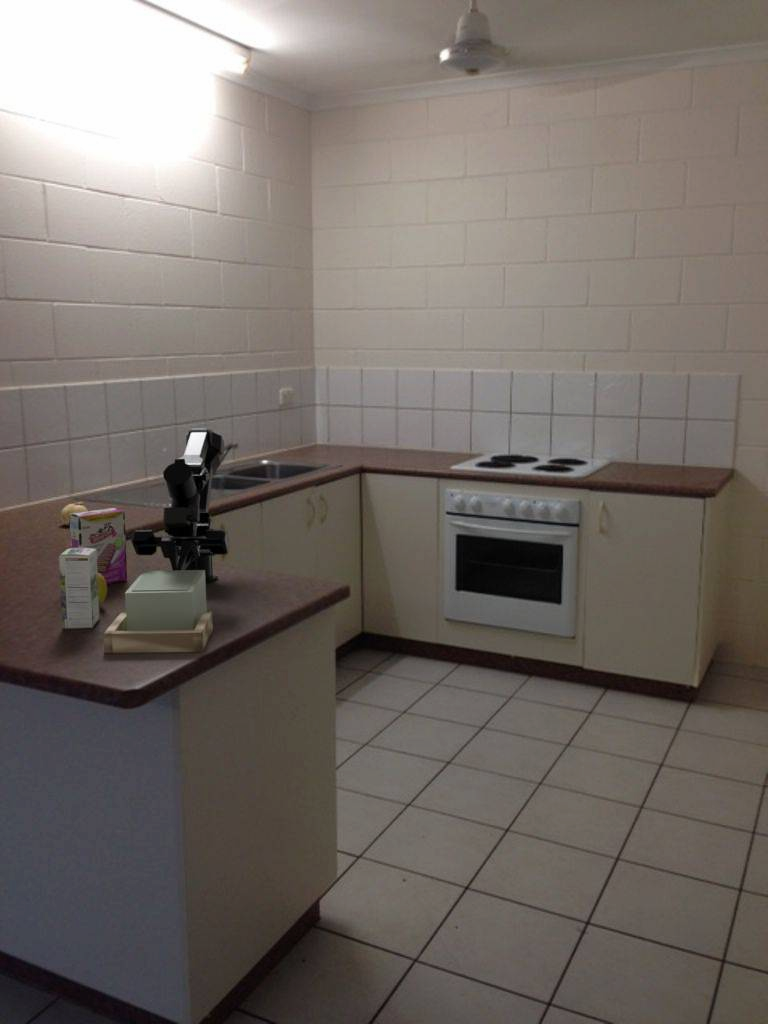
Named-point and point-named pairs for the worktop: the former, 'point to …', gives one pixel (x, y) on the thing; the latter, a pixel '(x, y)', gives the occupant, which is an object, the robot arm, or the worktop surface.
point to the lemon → (102, 588)
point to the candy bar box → (102, 540)
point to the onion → (71, 511)
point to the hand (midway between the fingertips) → (176, 578)
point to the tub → (166, 600)
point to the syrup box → (79, 588)
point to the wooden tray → (156, 638)
